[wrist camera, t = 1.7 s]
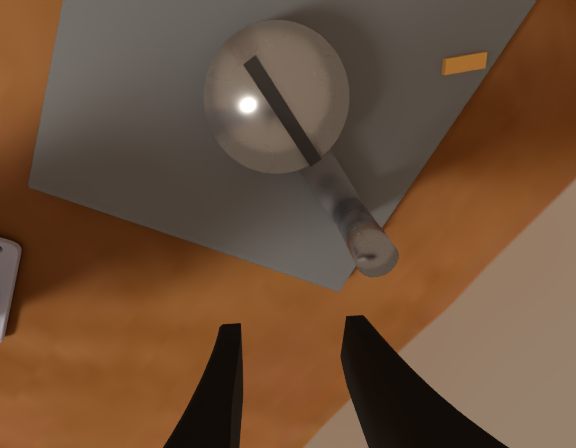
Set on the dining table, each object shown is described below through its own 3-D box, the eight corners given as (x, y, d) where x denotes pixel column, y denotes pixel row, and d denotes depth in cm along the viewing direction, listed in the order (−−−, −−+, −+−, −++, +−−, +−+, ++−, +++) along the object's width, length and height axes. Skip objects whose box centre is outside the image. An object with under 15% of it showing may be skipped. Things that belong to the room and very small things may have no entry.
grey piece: (178, 77, 15) (152, 96, 11) (293, -12, 14) (318, -35, 10) (308, 247, 20) (329, 308, 16) (400, 190, 19) (450, 238, 15)
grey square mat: (37, 179, 18) (24, 189, 17) (137, -311, 11) (124, -352, 10) (334, 282, 23) (339, 294, 22) (522, -1, 16) (543, -3, 15)
